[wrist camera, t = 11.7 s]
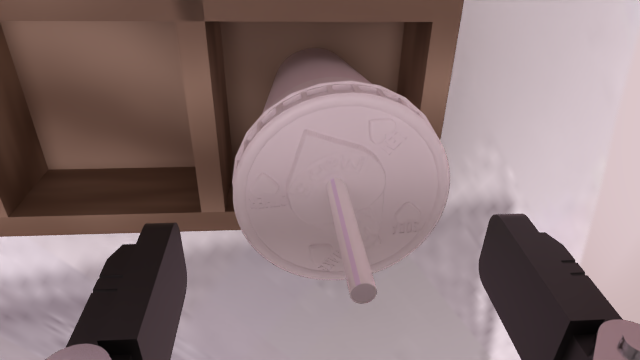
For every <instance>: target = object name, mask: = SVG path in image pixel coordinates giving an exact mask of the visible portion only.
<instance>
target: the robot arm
mask: <svg viewBox="0 0 640 360" xmlns="http://www.w3.org/2000/svg"><path fill="white" fill-rule="evenodd" d="M479 274H480V279H481V282H482V284H483V286H484V288H485V290H486V292H487V294H488V296H489V298H490V300H491V302H492V304H493V305H494V307H495V309H496V311H497V313H498V315H499V317H500V319H501V321H502V323H503V325H504V327H505V329H506V331H507V333H508V335H509V337H510V338H511V340H512V342H513V344H514V346H515V348H516V350H517V352H518V354H519V356H520V358H521V360H640V324H638V323H634V322H631V321H626V320H623V319H622V318H621V317H620V316H619V314H618V313H617V312H616V311H615V309H614V308H613V307H612V306H611V304H610V303H609V302H608V301H607V300H606V298H605V297H604V296H603V294H602V293H601V292H600V291H599V289H598V288H597V287H596V286H595V284H594V283H593V282H592V281H591V279H590V278H589V277H588V276H585V272H584V271H583V269H582V268H581V267H580V266H579V264H578V263H575V259H574V258H573V257H572V256H571V254H570V253H569V252H568V251H567V249H566V248H565V247H564V246H563V245H562V244H561V243H559V242H558V241H557V240H555V239H554V238H552V237H551V236H549V235H548V234H547V233H545V232H544V233H539V232H538V230H537V229H536V228H535V226H534V225H533V224H532V222H531V221H530V220H529V218H528V217H527V216H526V215H524V214H496V215H493V216H492V217H491V218H490V221H489V224H488V228H487V232H486V236H485V239H484V243H483V247H482V251H481V255H480V259H479ZM186 287H187V271H186V264H185V258H184V253H183V247H182V241H181V235H180V230H179V226H178V224H177V223H146V224H145V225H144V226H143V228H142V231H141V233H140V236H139V238H138V241H137V243H136V244H127V245H122V246H121V247H120V248H119V249H118V250H117V251H116V252H114V253H113V254H112V255H111V256H110V257H109V258H108V259H107V261H106V263H105V265H104V267H103V269H102V272H101V274H100V278H99V279H98V280H97V282H96V284H95V286H94V289H93V293H91V295H90V297H89V299H88V301H87V303H86V306H85V308H84V310H83V312H82V314H81V316H80V318H79V321H78V323H77V325H76V327H75V329H74V331H73V333H72V335H71V338H70V340H69V342H68V344H67V346H66V348H64V349H61V350H59V351H57V352H55V353H54V354H52V355H51V356H49V357H48V358H46V359H45V360H170V358H171V354H172V350H173V346H174V341H175V337H176V333H177V328H178V324H179V320H180V316H181V311H182V307H183V303H184V299H185V294H186Z"/></svg>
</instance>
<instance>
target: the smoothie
mask: <svg viewBox="0 0 640 360" xmlns="http://www.w3.org/2000/svg"><path fill="white" fill-rule="evenodd" d="M232 185H233V205H234V211H235V215H236V218H237V221H238V224H239V226H240V228H241V230H242V232H243V234H244V236H245V237H246V239H247V240H248V242H249V243H250V244H251V245H252V247H253V248H254V249H255V250H256V251H257V252H258V253H259V254H260V255H261V256H263V257H264V258H265V259H266V260H268V261H269V262H271V263H272V264H274V265H275V266H277V267H279V268H281V269H283V270H285V271H288V272H290V273H293V274H296V275H299V276H303V277H307V278H313V279H320V280H344V279H346V280H347V285H348V289H349V294H350V298H351V299H352V300H353V301H354V302H356V303H360V304H363V303H368V302H370V301H372V300H373V299H374V298H375V297H376V295H377V289H376V285H375V282H374V278H373V275H372V274H373V273H375V272H378V271H381V270H383V269H385V268H387V267H389V266H392V265H393V264H395V263H397V262H399V261H400V260H402V259H403V258H405V257H406V256H408V255H409V254H410V253H411V252H413V251H414V250H415V249H416V248H417V247H418V246H419V245H420V244H421V243H422V242H423V241H424V240H425V239H426V238H427V237H428V236H429V234H430V233H431V232H432V230H433V229H434V227H435V226H436V224H437V223H438V221H439V219H440V217H441V215H442V213H443V210H444V208H445V205H446V202H447V198H448V193H449V186H450V171H449V164H448V159H447V156H446V153H445V150H444V148H443V145H442V143H441V141H440V139H439V138H438V136H437V134H436V133H435V131H434V129H433V128H432V126H431V124H430V123H429V121H428V119H427V117H426V116H425V115H424V114H423V113H422V112H421V111H420V110H419V109H418V108H417V107H416V106H414V105H413V104H412V103H411V102H410V101H409V100H408V99H407V98H406V97H404V96H402V95H399V94H397V93H395V92H393V91H391V90H389V89H387V88H385V87H382V86H380V85H376V84H372V83H370V82H369V81H368V80H367V79H365V78H364V77H363V76H362V75H361V74H359V73H358V72H357V71H356V70H354V69H353V68H352V67H351V66H350V65H348V64H347V63H346V62H345V61H344V60H342V59H341V58H340V57H339V56H337V55H336V54H334V53H332V52H330V51H328V50H324V49H319V48H310V49H305V50H301V51H298V52H296V53H294V54H293V55H291V56H290V57H288V58H287V59H286V60H285V61H284V62H283V63H282V65H281V66H280V68H279V69H278V71H277V74H276V76H275V79H274V82H273V85H272V88H271V90H270V93H269V96H268V99H267V102H266V104H265V107H264V110H263V113H262V115H261V116H260V117H259V118H258V119H257V121H256V122H255V123H254V124H253V125H252V126H251V128H250V129H249V130H248V131H247V132H246V134H245V137H244V139H243V141H242V143H241V145H240V148H239V150H238V152H237V154H236V157H235V163H234V171H233V178H232Z"/></svg>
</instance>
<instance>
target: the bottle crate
mask: <svg viewBox="0 0 640 360" xmlns="http://www.w3.org/2000/svg"><path fill="white" fill-rule="evenodd" d="M463 3H464V0H0V237H4V236H39V235H75V234H110V233H141V231H142V228H143V226H144V225H145V224H146V223H177V224H178V226H179V230H180V232H181V231H217V230H241V228H240V226H239V224H238V221H237V218H236V215H235V211H234V205H233V185H232V178H233V171H234V163H235V157H236V154H237V152H238V150H239V148H240V145H241V143H242V141H243V139H244V137H245V134H246V132H247V131H248V130H249V129H250V128H251V126H252V125H253V124H254V123H255V122H256V121H257V119H258V118H259V117H260V116H261V115H262V113H263V110H264V107H265V104H266V102H267V99H268V96H269V93H270V90H271V88H272V85H273V82H274V79H275V76H276V74H277V71H278V69H279V68H280V66H281V65H282V63H283V62H284V61H285V60H286V59H287V58H288V57H290V56H291V55H293V54H294V53H296V52H298V51H301V50H305V49H310V48H319V49H324V50H328V51H330V52H332V53H334V54H336V55H337V56H339V57H340V58H341V59H342V60H344V61H345V62H346V63H347V64H348V65H350V66H351V67H352V68H353V69H354V70H356V71H357V72H358V73H359V74H361V75H362V76H363V77H364V78H365V79H367V80H368V81H369V82H370V83H372V84H376V85H380V86H382V87H385V88H387V89H389V90H391V91H393V92H395V93H397V94H399V95H402V96H404V97H406V98H407V99H408V100H409V101H410V102H411V103H412V104H413V105H414V106H416V107H417V108H418V109H419V110H420V111H421V112H422V113H423V114H424V115H425V116H426V117H427V119H428V121H429V123H430V124H431V126H432V128H433V129H434V131H435V133H436V134H437V136H438V138H439V139H440V138H441V132H442V126H443V120H444V115H445V109H446V103H447V97H448V91H449V85H450V79H451V73H452V67H453V62H454V56H455V50H456V44H457V38H458V32H459V26H460V20H461V14H462V8H463Z"/></svg>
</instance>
